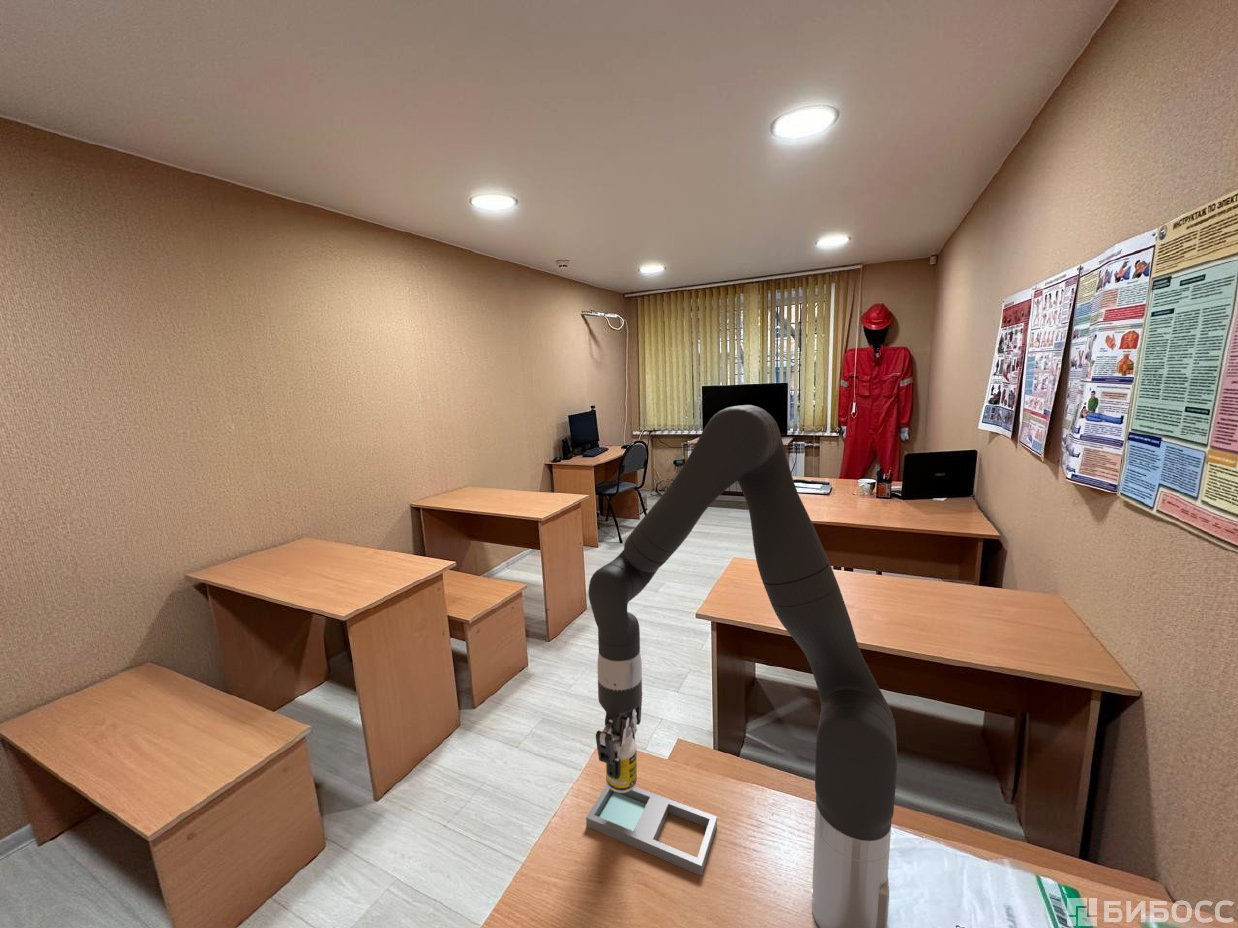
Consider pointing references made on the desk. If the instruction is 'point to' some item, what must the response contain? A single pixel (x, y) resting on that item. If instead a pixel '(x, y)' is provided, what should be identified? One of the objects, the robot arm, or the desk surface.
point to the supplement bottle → (625, 765)
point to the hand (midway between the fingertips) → (621, 763)
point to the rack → (649, 824)
